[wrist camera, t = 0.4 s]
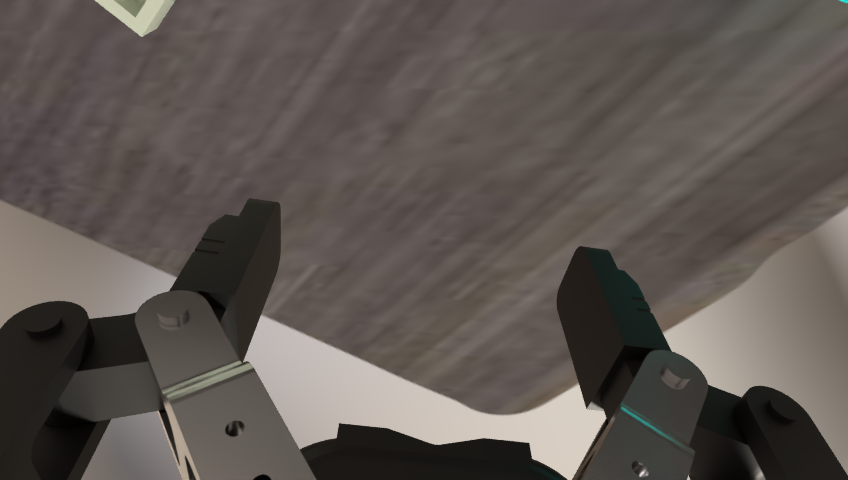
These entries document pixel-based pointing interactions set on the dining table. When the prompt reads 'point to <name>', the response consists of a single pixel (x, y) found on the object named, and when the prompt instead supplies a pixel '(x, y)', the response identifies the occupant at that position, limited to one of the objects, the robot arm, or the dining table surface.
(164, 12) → the tray
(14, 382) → the robot arm
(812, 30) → the dining table surface
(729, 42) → the dining table surface
